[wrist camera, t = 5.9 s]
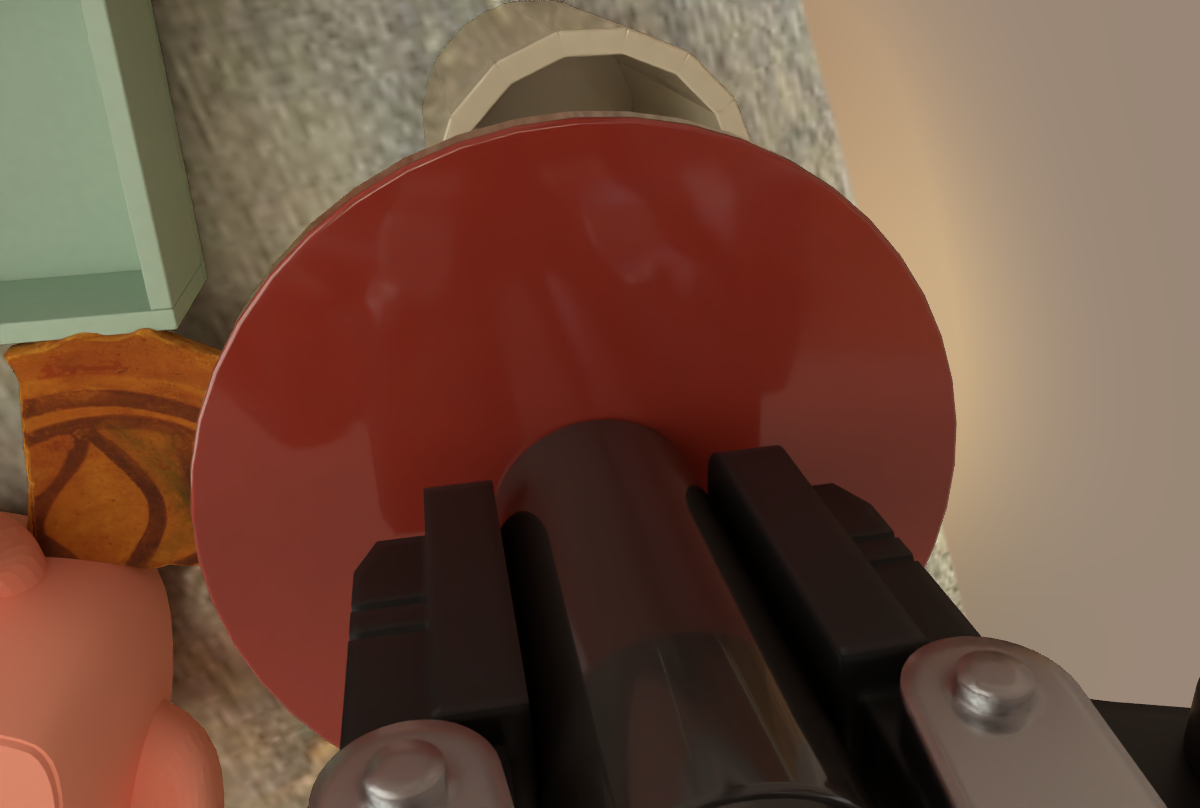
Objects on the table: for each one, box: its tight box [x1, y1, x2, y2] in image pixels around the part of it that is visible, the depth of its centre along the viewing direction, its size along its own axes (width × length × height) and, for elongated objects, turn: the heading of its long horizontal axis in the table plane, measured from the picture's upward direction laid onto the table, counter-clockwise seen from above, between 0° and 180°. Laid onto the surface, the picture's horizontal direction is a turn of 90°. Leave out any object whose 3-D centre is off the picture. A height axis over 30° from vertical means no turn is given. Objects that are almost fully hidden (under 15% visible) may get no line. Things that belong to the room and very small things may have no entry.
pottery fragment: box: [4, 328, 221, 569], centre depth 35 cm, size 10×5×10 cm
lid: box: [190, 111, 956, 808], centre depth 10 cm, size 9×9×7 cm
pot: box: [422, 0, 751, 148], centre depth 31 cm, size 8×8×14 cm
